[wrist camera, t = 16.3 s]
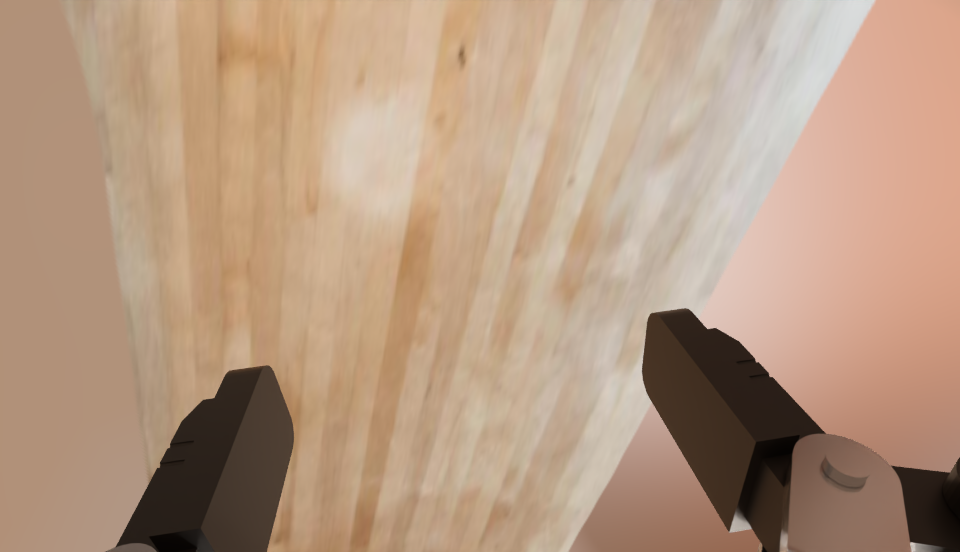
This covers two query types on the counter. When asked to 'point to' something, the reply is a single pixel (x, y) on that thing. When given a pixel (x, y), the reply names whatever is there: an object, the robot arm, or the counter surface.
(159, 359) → the counter surface
